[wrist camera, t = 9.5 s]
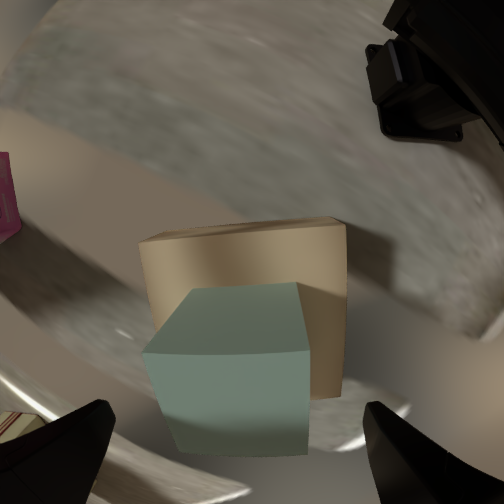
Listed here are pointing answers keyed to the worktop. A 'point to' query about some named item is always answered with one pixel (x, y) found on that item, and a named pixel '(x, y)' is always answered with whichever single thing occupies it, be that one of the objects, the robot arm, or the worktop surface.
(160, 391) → the teal block
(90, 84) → the worktop surface
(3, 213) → the gum box
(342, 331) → the birch base
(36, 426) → the gift box
